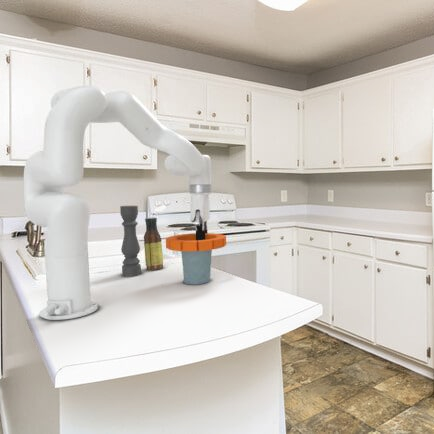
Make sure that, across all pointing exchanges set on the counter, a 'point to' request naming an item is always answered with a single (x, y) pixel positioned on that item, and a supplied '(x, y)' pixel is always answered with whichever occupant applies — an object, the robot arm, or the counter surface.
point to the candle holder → (130, 242)
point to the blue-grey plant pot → (196, 266)
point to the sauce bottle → (153, 245)
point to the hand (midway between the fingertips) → (201, 240)
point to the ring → (195, 242)
